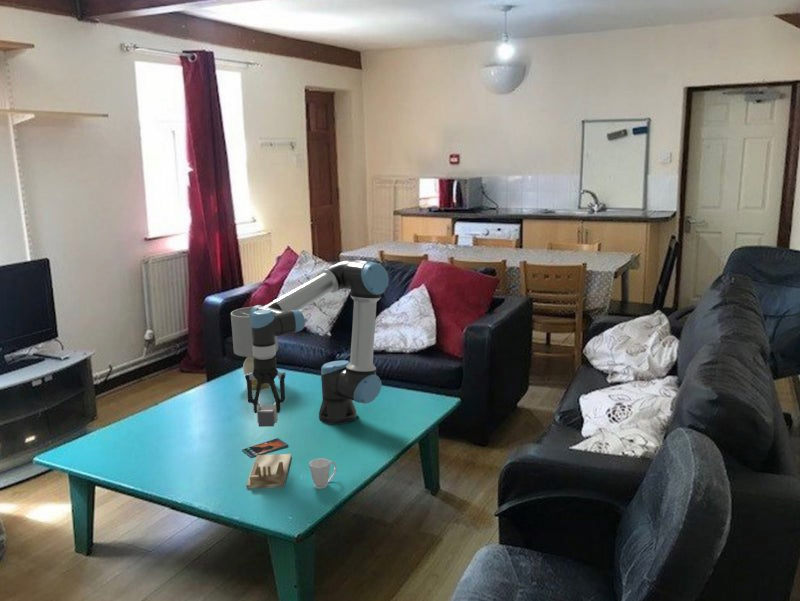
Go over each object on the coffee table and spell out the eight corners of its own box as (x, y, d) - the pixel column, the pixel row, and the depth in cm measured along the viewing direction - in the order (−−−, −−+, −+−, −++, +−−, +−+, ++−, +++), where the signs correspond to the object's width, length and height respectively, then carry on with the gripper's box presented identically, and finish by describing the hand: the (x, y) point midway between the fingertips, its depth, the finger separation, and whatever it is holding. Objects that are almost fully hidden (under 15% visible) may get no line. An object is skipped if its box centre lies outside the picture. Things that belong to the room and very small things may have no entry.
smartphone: (241, 449, 252) (278, 437, 261) (241, 452, 252) (278, 440, 261) (250, 456, 246) (288, 443, 254) (251, 459, 246) (288, 447, 255)
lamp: (229, 392, 311) (223, 316, 303) (246, 378, 330) (240, 305, 322) (272, 394, 308) (267, 317, 300) (286, 379, 327) (282, 306, 319)
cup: (305, 485, 225) (304, 462, 223) (329, 475, 232) (328, 452, 230) (319, 493, 220) (317, 469, 218) (343, 482, 227) (342, 459, 225)
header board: (291, 457, 246) (290, 438, 244) (283, 487, 224) (282, 467, 223) (257, 458, 245) (255, 439, 244) (246, 488, 224) (244, 468, 222)
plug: (276, 417, 242) (276, 403, 241) (273, 426, 234) (272, 411, 233) (262, 418, 242) (261, 403, 241) (258, 426, 234) (257, 411, 233)
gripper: (292, 352, 237) (295, 417, 242) (239, 353, 237) (243, 417, 241) (289, 359, 230) (292, 425, 234) (235, 359, 229) (239, 426, 234)
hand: (267, 421), depth 238 cm, fingers closed on plug, 5 cm apart
